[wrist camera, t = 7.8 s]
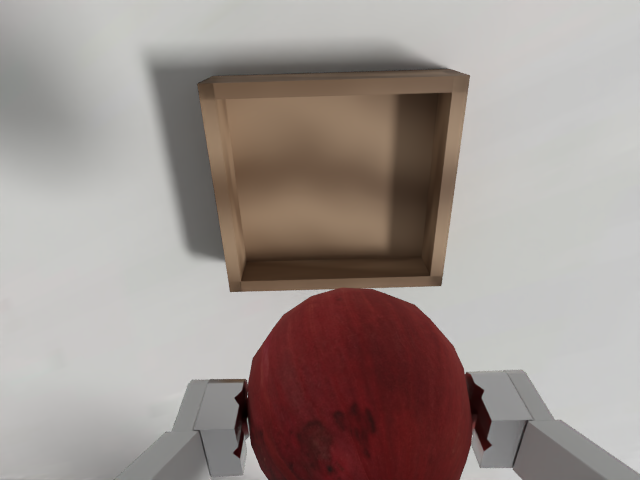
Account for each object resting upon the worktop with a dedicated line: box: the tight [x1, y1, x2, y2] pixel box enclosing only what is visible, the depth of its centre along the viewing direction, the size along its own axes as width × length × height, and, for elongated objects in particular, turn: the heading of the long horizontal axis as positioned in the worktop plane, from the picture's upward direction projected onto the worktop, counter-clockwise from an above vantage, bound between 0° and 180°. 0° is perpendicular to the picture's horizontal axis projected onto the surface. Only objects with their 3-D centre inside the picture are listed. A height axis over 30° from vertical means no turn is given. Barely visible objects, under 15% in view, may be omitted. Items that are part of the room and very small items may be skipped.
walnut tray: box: [197, 69, 470, 292], centre depth 25 cm, size 13×14×4 cm
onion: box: [248, 288, 473, 480], centre depth 11 cm, size 6×6×8 cm
